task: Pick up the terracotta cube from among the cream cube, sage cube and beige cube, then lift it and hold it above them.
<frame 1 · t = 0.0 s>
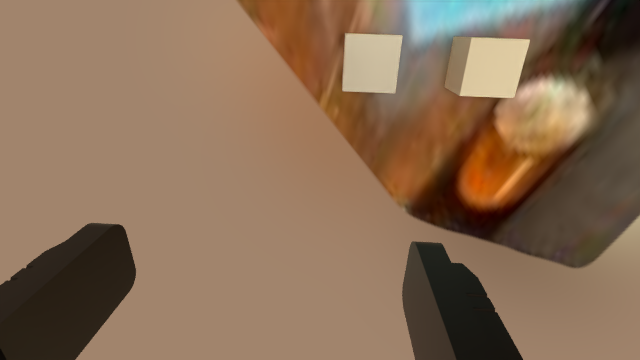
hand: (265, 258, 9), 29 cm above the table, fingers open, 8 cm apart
cream cube: (472, 63, 34), on the table
beige cube: (367, 59, 34), on the table
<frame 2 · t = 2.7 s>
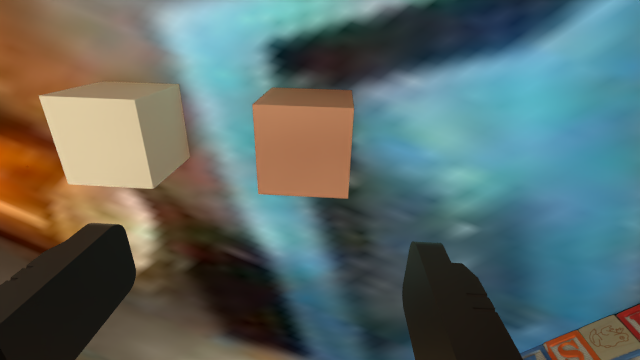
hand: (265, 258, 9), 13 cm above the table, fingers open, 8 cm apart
cream cube: (149, 120, 22), on the table
terracotta cube: (311, 127, 22), on the table
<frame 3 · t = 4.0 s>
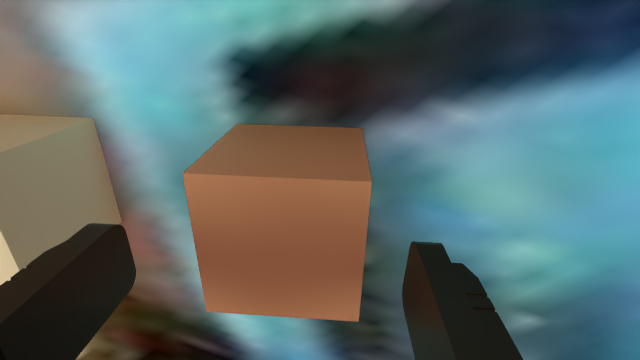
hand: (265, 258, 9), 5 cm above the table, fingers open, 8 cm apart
cream cube: (55, 170, 15), on the table
terracotta cube: (299, 181, 14), on the table
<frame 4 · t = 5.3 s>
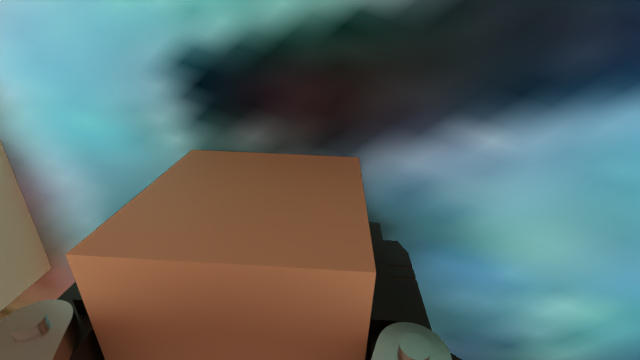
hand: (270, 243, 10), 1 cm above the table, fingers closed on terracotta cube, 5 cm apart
terracotta cube: (276, 224, 11), on the table, touching gripper
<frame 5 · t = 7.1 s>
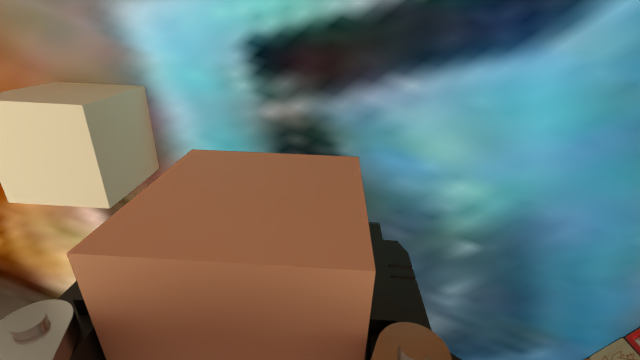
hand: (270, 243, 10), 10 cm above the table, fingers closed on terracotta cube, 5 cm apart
cream cube: (111, 127, 19), on the table
terracotta cube: (276, 224, 11), point 9 cm above the table, touching gripper
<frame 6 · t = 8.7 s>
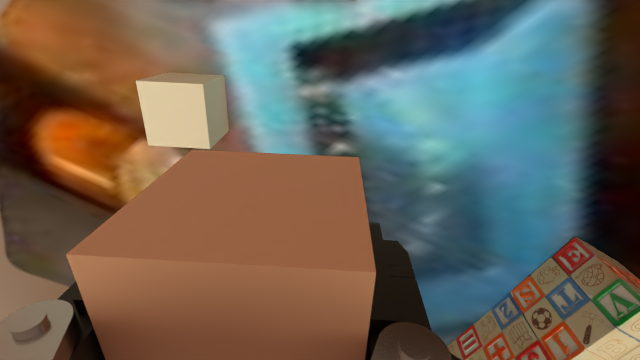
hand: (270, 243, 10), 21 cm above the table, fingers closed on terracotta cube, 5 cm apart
stack of blocks: (518, 309, 38), on the table
cream cube: (199, 102, 29), on the table
terracotta cube: (277, 224, 11), point 20 cm above the table, touching gripper
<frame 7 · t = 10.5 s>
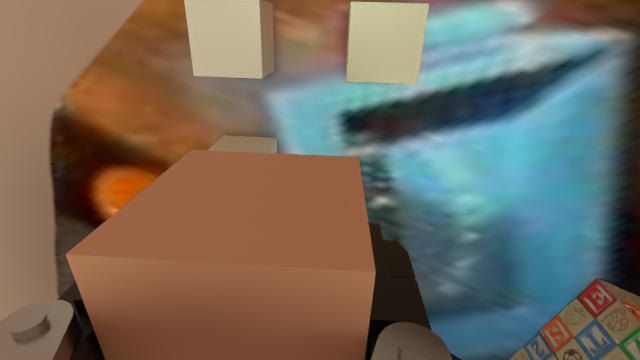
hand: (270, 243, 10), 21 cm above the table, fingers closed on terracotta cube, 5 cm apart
stack of blocks: (549, 344, 40), on the table
cream cube: (251, 161, 32), on the table
terracotta cube: (276, 224, 11), point 20 cm above the table, touching gripper
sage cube: (377, 41, 27), on the table
beige cube: (243, 37, 27), on the table
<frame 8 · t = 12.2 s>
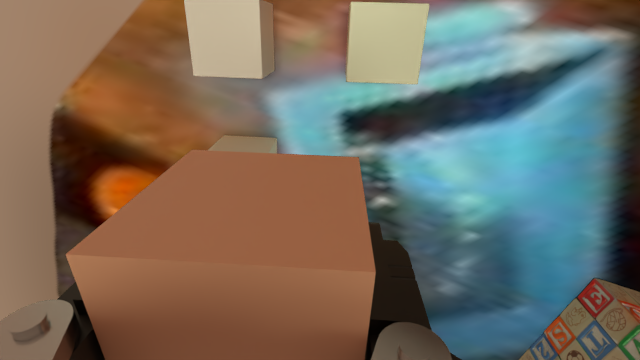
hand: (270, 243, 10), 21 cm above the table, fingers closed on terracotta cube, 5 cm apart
stack of blocks: (556, 344, 40), on the table
cream cube: (251, 161, 32), on the table
terracotta cube: (276, 224, 11), point 20 cm above the table, touching gripper
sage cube: (377, 41, 27), on the table
beige cube: (243, 37, 27), on the table
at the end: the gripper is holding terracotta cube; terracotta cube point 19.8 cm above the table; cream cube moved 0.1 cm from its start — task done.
